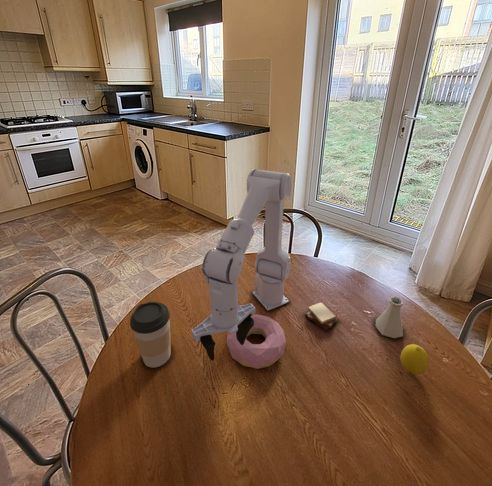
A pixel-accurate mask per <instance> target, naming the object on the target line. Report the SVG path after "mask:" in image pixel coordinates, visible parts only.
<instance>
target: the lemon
mask: <svg viewBox="0 0 492 486" xmlns="http://www.w3.org/2000/svg"><path fill="white" fill-rule="evenodd" d="M400 363H401V366H402V368H403V370H405V371H406V372H408V373H409V374H411V375H415V376H416V375H417V376H418V375H422V374H423V373H425V372H426V371H427V369H428V366H429V356H428V353H427V351H426V350H425V349H424V348H423V347H422V346H420V345H418V344H414V343H412V344H408V345H406V346H405V347H404V348H403V349H402V350H401V353H400Z"/></svg>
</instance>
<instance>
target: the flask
mask: <svg viewBox="0 0 492 486" xmlns="http://www.w3.org/2000/svg"><path fill="white" fill-rule="evenodd" d="M403 301H404V300H402V299H401V298H400V297H397V296H391V297H390V296H389V305H387V308H386V309H385V310H384V311H383V312H382V313H381V314H380V315H379V316H377V318H376V319H375V328H376V329H377V331H379V333H380V334H381V335H382V336H384V337H388V338H392V339H397V338H402V337H404V327H403V323H402V318H401V307H402V306H404V302H403Z"/></svg>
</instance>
